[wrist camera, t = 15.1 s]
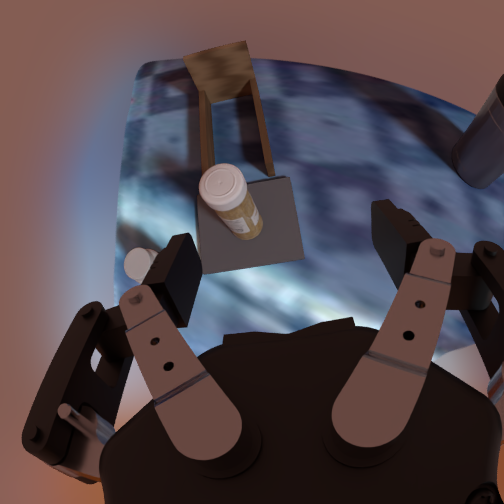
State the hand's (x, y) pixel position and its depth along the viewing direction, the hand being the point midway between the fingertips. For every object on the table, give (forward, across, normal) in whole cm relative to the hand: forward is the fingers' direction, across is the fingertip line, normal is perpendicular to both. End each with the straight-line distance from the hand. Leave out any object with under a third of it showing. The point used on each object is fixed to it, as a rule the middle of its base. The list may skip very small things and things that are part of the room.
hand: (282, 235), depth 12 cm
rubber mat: (+25, +6, +12) cm, 28 cm away
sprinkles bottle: (+25, +6, +11) cm, 28 cm away
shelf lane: (+37, +6, 0) cm, 37 cm away
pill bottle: (+22, +19, +15) cm, 32 cm away
